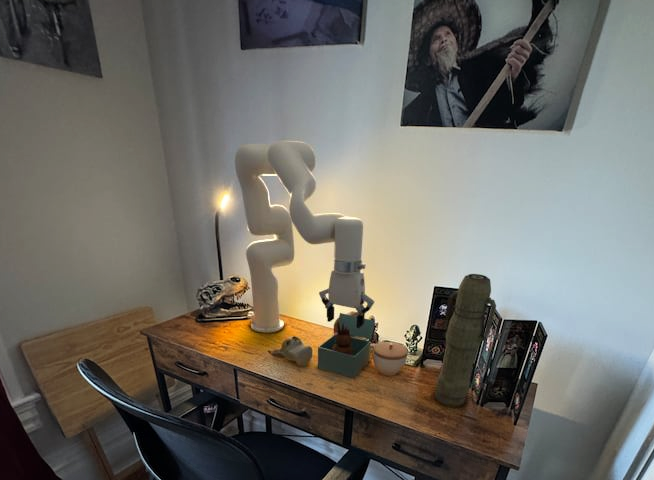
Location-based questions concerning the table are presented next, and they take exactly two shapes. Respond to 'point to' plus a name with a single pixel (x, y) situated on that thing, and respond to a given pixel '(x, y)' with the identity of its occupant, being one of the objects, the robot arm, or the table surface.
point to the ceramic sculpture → (294, 351)
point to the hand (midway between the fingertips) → (344, 323)
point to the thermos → (463, 337)
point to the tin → (338, 319)
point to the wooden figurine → (343, 341)
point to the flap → (351, 324)
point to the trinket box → (389, 357)
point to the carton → (344, 357)
